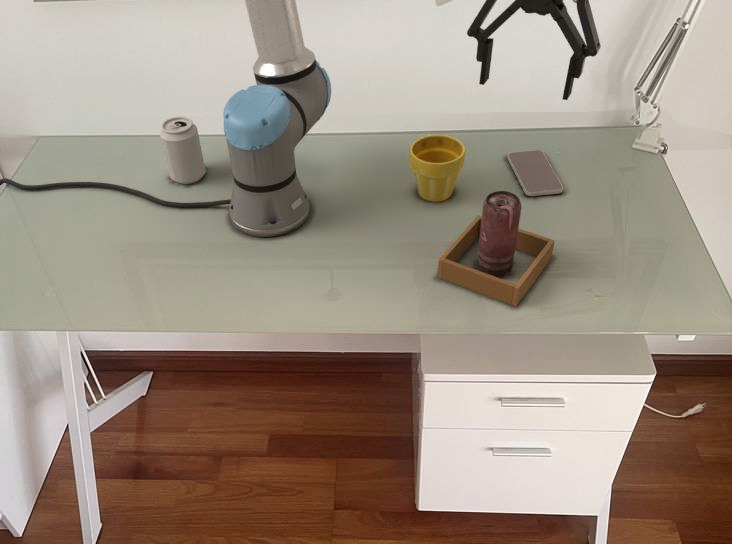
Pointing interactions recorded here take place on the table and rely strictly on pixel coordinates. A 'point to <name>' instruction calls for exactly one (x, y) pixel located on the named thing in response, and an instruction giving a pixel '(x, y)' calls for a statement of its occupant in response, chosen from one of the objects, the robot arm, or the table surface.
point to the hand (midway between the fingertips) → (524, 88)
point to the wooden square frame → (487, 282)
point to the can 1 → (182, 150)
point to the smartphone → (534, 173)
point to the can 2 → (498, 233)
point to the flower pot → (436, 165)
